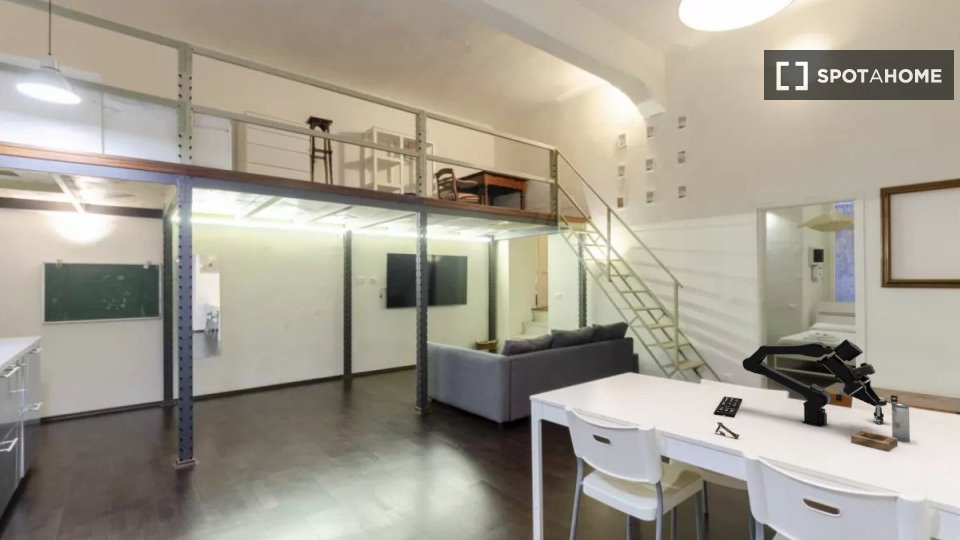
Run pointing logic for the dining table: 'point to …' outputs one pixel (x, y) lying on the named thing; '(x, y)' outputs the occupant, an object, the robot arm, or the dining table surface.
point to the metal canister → (900, 421)
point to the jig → (874, 440)
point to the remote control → (728, 407)
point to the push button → (879, 410)
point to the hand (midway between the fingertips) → (877, 403)
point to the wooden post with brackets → (720, 424)
